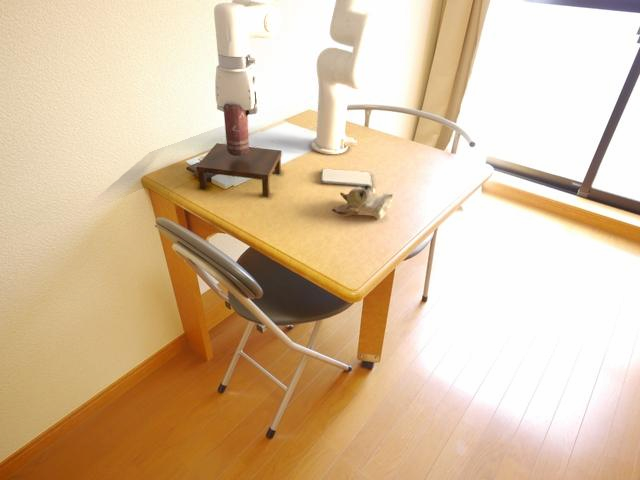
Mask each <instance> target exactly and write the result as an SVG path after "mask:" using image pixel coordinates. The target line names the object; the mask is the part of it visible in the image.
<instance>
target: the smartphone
mask: <svg viewBox="0 0 640 480" xmlns="http://www.w3.org/2000/svg"><path fill="white" fill-rule="evenodd" d="M371 175H372V174H371V172H369V171H363V170H362V171H361V170H348V169H339V168H338V169H336V168H322V169H321V179H320V180H321V183H323V184H332V185H347V186H356V187H365V186H366V185H368V186H371V187H372V185H373V183H372V176H371Z"/></svg>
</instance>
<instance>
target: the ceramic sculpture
mask: <svg viewBox="0 0 640 480" xmlns="http://www.w3.org/2000/svg"><path fill="white" fill-rule="evenodd" d="M339 195H340V196H341V197H342V198H343V199H344V200H345V201H346V203H345V204H341V205H339V206H337V207H335V208H331V209H330V210H331V211H332V212H334V213H336V214H338V215H339V216H340V215H341V216H345V217H349V216H354V215H357V216H373V217H374V218H376V220H378V221H379V220H381V219H382V218H384V217H385V216H386V214H387V212H388V211H389V210H390V209H391V205H392V202H393V200H394V194H391V193H378V192H377V191H376V189H375V188H374V187H372V185H371V186H368V185H366V186H356V187H354V188H352V189H351V190H350V191H349V192H348V193H345V192H339Z"/></svg>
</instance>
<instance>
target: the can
mask: <svg viewBox="0 0 640 480" xmlns="http://www.w3.org/2000/svg"><path fill="white" fill-rule="evenodd" d="M223 108H224V112H223V117H224V131H225V141H226V142H225V143H226V144H227V151H228V152H229V154H231V155H234V156H242V155H245V154H247V153H248V152H249V147H250V135H249V116H248V115H247V116H246V110H243V109H242V107H241V106H240V105H228V104H225V105H224V107H223Z"/></svg>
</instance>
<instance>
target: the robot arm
mask: <svg viewBox="0 0 640 480" xmlns="http://www.w3.org/2000/svg"><path fill="white" fill-rule="evenodd" d="M276 1H278V0H231V2H221V3H217V4H216V5H215V6H214V8H213V17H214V26H215V27H214V28H215V29H214V30H215V38H216V50H217V51H216V52H217V60H218V61H217V63H218V64H217V66H216V70H215V80H214V81H215V85H214V86H215V88H214V89H215V90H214V91H215V92H214V93H215V101H216V109H217V110H218V111H220V112H223V113H224V108H223V107H224V105H225V104H228V105H240V106H241V107H242V109H243V110H246V116H247V115H250V116H251V115H256V114H257V113H258V112H259V110H258V106H257V105H258V103H259V97H258V96H259V95H258V87H257V80H256V74H255V70H254V67H253V66H251V65H255V64H256V58H254V57H251V54H250V44H249V43H250V42H249V39H250V38H253V39H255V38H258V39H268V38H272V37H273V36H275V35H276V34H277V33H278V32H279V30H280V28H281V24H282V19H281V15H280V13H279V11H278V9H277V8H275V6H273V5H272V3H275V2H276ZM366 2H367V0H335V4H334V9H333V13H332V16H331V21H330V26H329V36H330V38H331V40H332V41H334V42H335V43H337V44H340V45H344V46H346V47H351V48H352V51H349V50H345V49H342V48H338V47H327V48H324V49H323V50H322V51H321V52H320V53H319V54H318V56H317V60H316V75H317V82H318V84H317V85H318V97H317V116H316V117H317V118H316V138H314V139H313V140H311V148H312V149H313V150H314V151H315V152H318V153H321V154H325V155H338V154H342V153H344V152H347V150H348V149H349V148H348V147H349V146H350V147H357V144H358V143H357V142H358V140H355V138H354V137H348V136H347V134H346V132H345V130H346V123H347V122H346V120H347V112H348V111H347V110H348V101H349V94H348V89H347V88H351V89H353V90H359V89H362V88H363V87H364V86H366V84H367V83H368V81H369V78H370V76H371V73H372V70H373V67H374V62H375V59H376V56H377V52H378V49H379V45H380V41H381V36H382V25H381V22H380V19H379V18H378V16H377V15H375V14H374V13H372V12H367V11H365V7H366Z"/></svg>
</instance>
